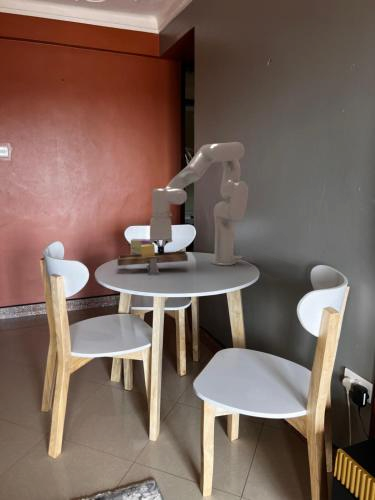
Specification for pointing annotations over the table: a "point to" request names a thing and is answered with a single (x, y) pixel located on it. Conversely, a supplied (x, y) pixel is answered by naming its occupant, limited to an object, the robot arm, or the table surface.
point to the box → (138, 245)
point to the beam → (164, 258)
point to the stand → (153, 267)
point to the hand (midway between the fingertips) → (160, 254)
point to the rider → (148, 250)
